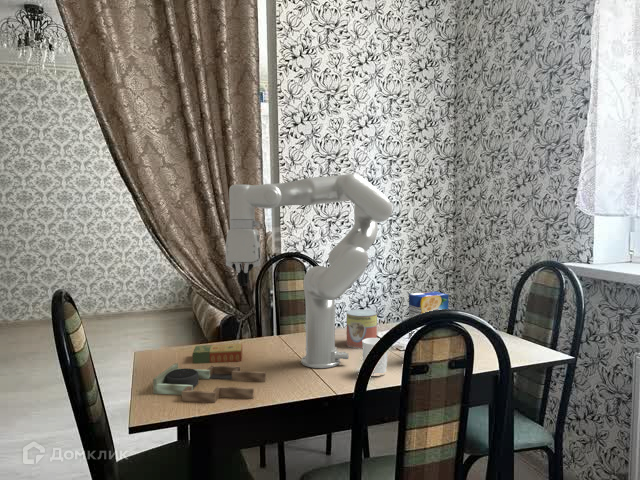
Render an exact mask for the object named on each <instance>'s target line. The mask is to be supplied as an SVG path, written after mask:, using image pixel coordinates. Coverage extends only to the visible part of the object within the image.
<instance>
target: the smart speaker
mask: <svg viewBox="0 0 640 480" xmlns="http://www.w3.org/2000/svg"><path fill="white" fill-rule="evenodd" d="M194 369H195V368H187V367H186V368H181V369H176V370H173V371H171V372H169V373H168V374H167V375H166V384H182V385H193V388H195V387H197V385H198V384H199V379H198V372H197V371H196V370H194Z"/></svg>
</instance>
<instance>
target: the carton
mask: <svg viewBox="0 0 640 480" xmlns="http://www.w3.org/2000/svg"><path fill="white" fill-rule="evenodd" d="M191 355H192V357H191V358H192V364H206V363H207V364H209V363H232V362H233V363H237V362H242V360H243V343H230V344H228V343H227V344H210V345H208V344H206V345H195V347H194V349H193V351H192V354H191Z"/></svg>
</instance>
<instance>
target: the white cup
mask: <svg viewBox="0 0 640 480" xmlns="http://www.w3.org/2000/svg"><path fill="white" fill-rule="evenodd" d="M379 340H380V337H377V338H366V339H364V340H362V348H363V349H362V361H363V362H364V360H365V358H366V357H367V355H368V354H369V352H370V351H371V349H372V348H373V346H374V345H375V344H376V343H377V342H378V341H379ZM388 353H389V350H388V351H387V352H386V353H385V354H384V355H383V357H382V358H381V360H380V361H379V363H378V364H377V366H376V368H375V370H374V372H373V374H374V373H384V372H386V373H387V365H388Z"/></svg>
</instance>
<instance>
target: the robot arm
mask: <svg viewBox="0 0 640 480" xmlns="http://www.w3.org/2000/svg"><path fill="white" fill-rule="evenodd" d="M228 192H229V194H228V195H229V197H228V199H229V229H228V230H227V233H226V239H225V260H226V261H225V266H226V267H229V268H233V270H235V271H236V273H237V282H238V284H239V287H246V286H248V284H249V282H250V272H251V270H253V268H256V267H260V266H261V264H262V263H261V259H262V250H261V240H260V234H259V231H258V229H256V227H259V226H260V221H256V218H255V217H256V213H255V212H256V210H255V208H258V209H267V210H268V209H273V208H274V209H275V208H276V207H285V206H286V207H287V206H314V205H321V204H329V203H330V204H331V203H339V202H347V201H348V202H349V201H350V202H351V203H353V204H354V207H353V212H354V213H353V214H354V224H353V227H352V228H351V230H349V232H348V233H347V234H346V235H345V236H344V237H343V238H342V239H341V240H340V241H339V242H338V243H337V244H336V245H335V246H334V247H333V248H332V249H331V251H330V252H329V254H328V263H329V266H328V267H327V266H323V265H316V266H312V267H311V268H310V269H308V270H307V271H306V272H305V274H304V277H303V291H304V292H303V293H304V300H305V301H304V303H305V355H304V356H303V357H301V361H300V362H301V364H302V365H303V366H305V367H308V368H311V369H329V368H335V367H336V366H338V365H340V363H341V361H340V359H342V360H349V356H350V355H349V353H348V352H346V351H339V350H338V347H337V346H336V304H335V300H337V299H339V298H340V297H342V296H343V295H344V294H345V293H346V292H347V291H348V290H349V289H350V288H351V287H352V285H354V283H355V282H357V280H358V279H359V278H360V277H361V276H362V275H363V274H364V273H365V271H366V269H367V267H368V264H369V255H368V253H367V251H368V250H369V249H370V248H371V247H372V245H373V244H374V243H375V241H376V238H377V235H378V223H381V222H385V221H387V220H388V219H389V218H390V217H391V215H392V212H393V205H392V202H391V200H390V199H389V198H388V197H387V196H386V195H385V194H384V193H383V192H382V191H380V190H378V189H377V187H375V186H374V185H373V184H372V183H370V182H369V181H368V180H366V179H365V178H364V177H363V176H361V175H360V174H357V173H345V174H340V175H339V174H338V175H337V174H336V175H329V176H319V177H318V176H317V177H307V178H301V179H297V180H293V181H287V182H280V183H264V184H263V183H262V184H257V185H256V184H253V185H251V184H232V185H231V186H230V187H229V191H228ZM243 263H244V267H243Z"/></svg>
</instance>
